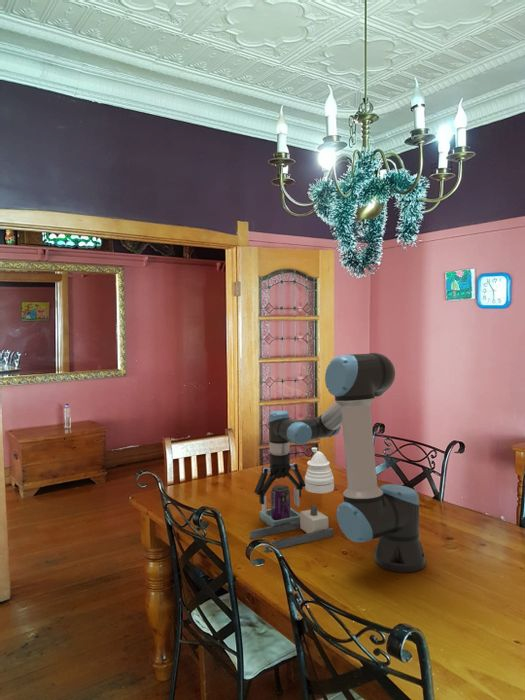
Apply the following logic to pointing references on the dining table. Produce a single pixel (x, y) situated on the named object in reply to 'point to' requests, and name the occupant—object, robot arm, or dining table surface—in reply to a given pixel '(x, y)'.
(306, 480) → the honey pot
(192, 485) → the dining table surface
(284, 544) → the slide track
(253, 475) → the dining table surface
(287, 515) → the beverage can
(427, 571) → the dining table surface
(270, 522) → the tray
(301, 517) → the slider
